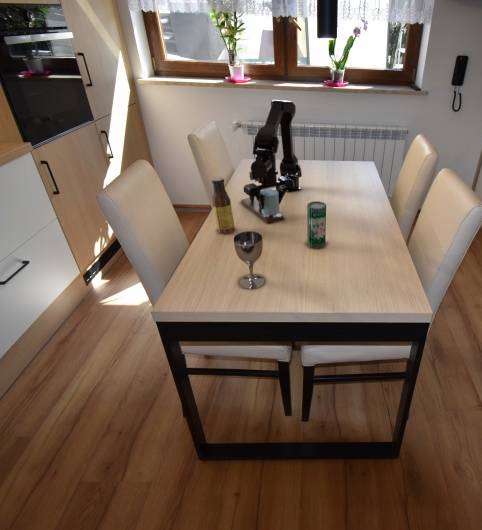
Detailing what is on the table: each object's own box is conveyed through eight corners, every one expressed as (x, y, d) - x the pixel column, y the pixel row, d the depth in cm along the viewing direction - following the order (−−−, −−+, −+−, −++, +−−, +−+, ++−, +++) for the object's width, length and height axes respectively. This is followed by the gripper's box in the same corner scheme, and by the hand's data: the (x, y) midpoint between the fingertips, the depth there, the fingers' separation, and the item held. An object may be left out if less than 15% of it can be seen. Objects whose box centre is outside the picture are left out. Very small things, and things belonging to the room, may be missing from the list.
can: (312, 250, 133) (312, 210, 125) (305, 242, 138) (304, 203, 129) (327, 246, 136) (329, 207, 127) (320, 238, 140) (321, 200, 132)
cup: (273, 206, 156) (272, 187, 151) (282, 212, 151) (282, 193, 146) (258, 210, 152) (257, 191, 148) (267, 217, 147) (266, 197, 143)
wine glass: (240, 274, 119) (235, 231, 111) (266, 274, 120) (263, 231, 112) (237, 289, 113) (231, 245, 104) (264, 289, 113) (261, 244, 105)
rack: (256, 199, 168) (254, 185, 164) (283, 219, 152) (282, 203, 149) (241, 203, 164) (239, 188, 160) (267, 223, 149) (266, 208, 145)
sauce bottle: (238, 228, 144) (232, 177, 134) (227, 235, 139) (220, 183, 129) (224, 225, 146) (217, 174, 136) (213, 231, 142) (205, 179, 131)
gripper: (279, 157, 152) (280, 195, 161) (235, 165, 142) (239, 205, 151) (294, 165, 145) (295, 204, 153) (248, 174, 135) (252, 215, 143)
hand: (270, 206), depth 150 cm, fingers closed on cup, 7 cm apart
